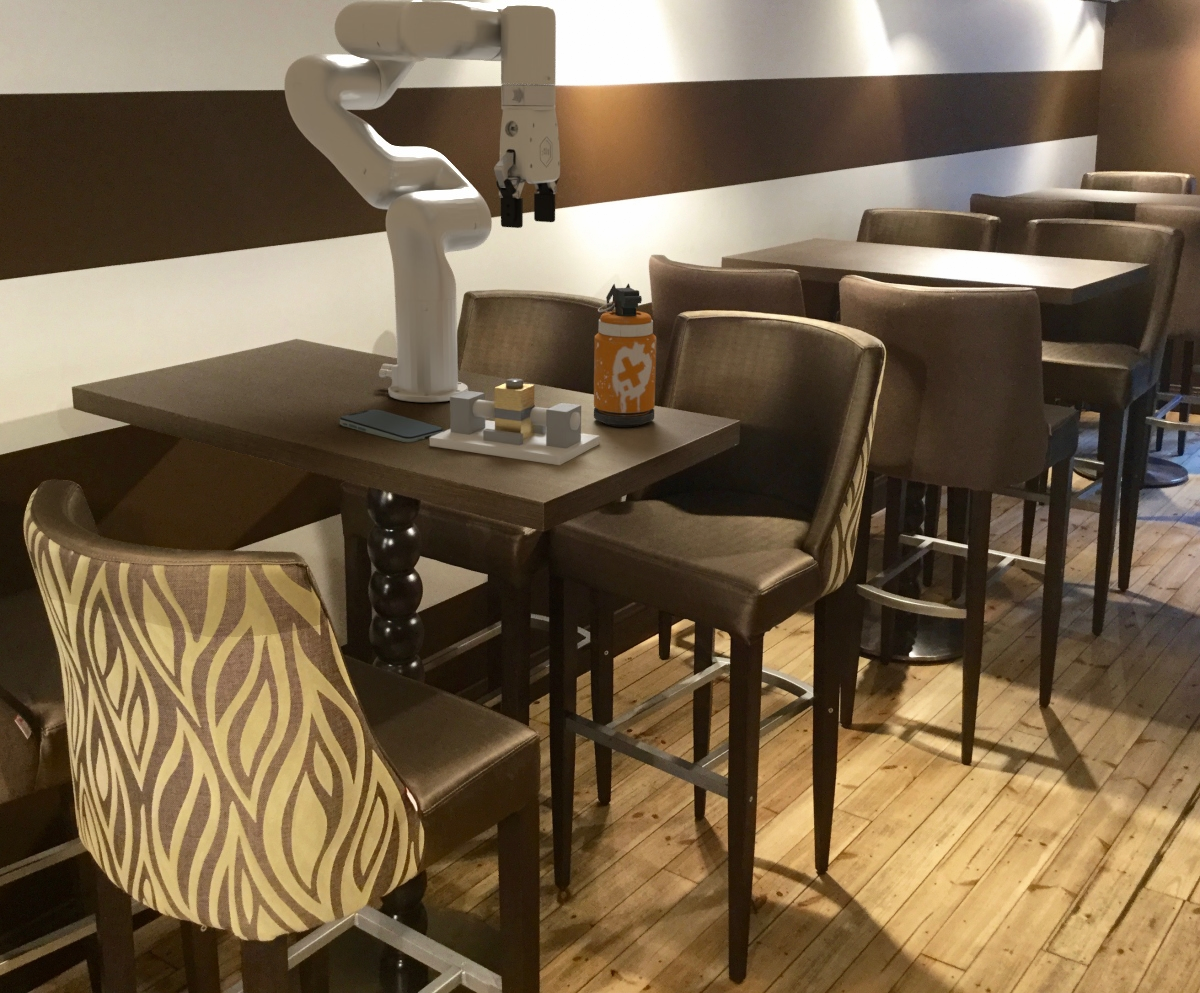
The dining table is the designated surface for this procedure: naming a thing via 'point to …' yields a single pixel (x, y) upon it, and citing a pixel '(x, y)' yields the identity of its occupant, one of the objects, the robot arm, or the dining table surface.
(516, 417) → the block
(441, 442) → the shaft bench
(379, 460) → the dining table surface
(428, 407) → the dining table surface
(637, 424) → the canister
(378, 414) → the smartphone
